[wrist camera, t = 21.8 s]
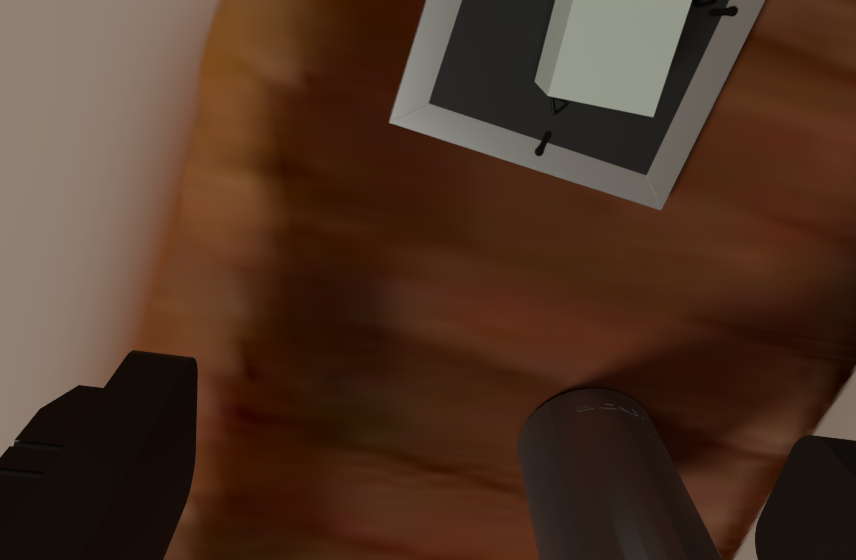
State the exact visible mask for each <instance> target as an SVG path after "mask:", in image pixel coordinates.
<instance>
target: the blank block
mask: <svg viewBox="0 0 856 560" xmlns="http://www.w3.org/2000/svg"><path fill="white" fill-rule="evenodd" d="M691 2H692V0H555V3H554V7H553V11H552V15H551V19H550V23H549V27H548V31H547V34H546V38H545V42H544V46H543V50H542V54H541V58H540V62H539V66H538V70H537V74H536V78H535V83H536V84H537V85H538V86H539V87H540V88H541V89H542V90H543V91H544V92H545V93H546V95H547V96H551V97H556V98H561V99H565V100H570V101H575V102H580V103H585V104H590V105H595V106H600V107H605V108H610V109H615V110H620V111H625V112H630V113H635V114H639V115H644V116H649V117H654V114H655V111H656V108H657V105H658V102H659V99H660V96H661V92H662V89H663V86H664V83H665V80H666V77H667V74H668V71H669V68H670V65H671V62H672V59H673V56H674V53H675V50H676V47H677V44H678V41H679V38H680V35H681V32H682V29H683V26H684V23H685V20H686V17H687V14H688V11H689V8H690V5H691Z"/></svg>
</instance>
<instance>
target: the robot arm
mask: <svg viewBox="0 0 856 560" xmlns="http://www.w3.org/2000/svg"><path fill="white" fill-rule="evenodd" d="M197 379H198V370H197V362H196V360H195V358H193V357H185V356H177V355H168V354H160V353H152V352H144V351H135V350H133V351H131V352H130V353H129V354H128V355H127V356H126V357H125V359H124V360H123V362H122V363H121V365H120V366H119V367H118V369H117V370H116V372H115V373H114V374H113V376H112V377H111V379H110V380H109V381H108V383H107V384H106V386H105V387H104V388H98V387H90V386H81V385H79V386H77V387H75V388H74V389H72V390H70V391H69V392H67V393H66V394H64V395H62V396H61V397H59V398H57V399H56V400H54V401H52V402H51V403H49V404H47V405H46V406H44V407H42V408H41V409H40V410H39V411H38V412H37V413H36V415H35V416H34V417H33V418H32V419H31V421H30V422H29V423H28V424H27V426H26V427H25V428H24V429H23V430H22V432H21V433H20V434H19V436H18V437H17V438H16V439H15V443H14V446H13V447H11V446H10V447H9V448H8V449H7V450H6V451H5V453H4V454H3V455H2V456H1V457H0V560H163V559H164V556H165V554H166V551H167V549H168V546H169V544H170V542H171V539H172V537H173V534H174V532H175V529H176V527H177V524H178V522H179V520H180V517H181V515H182V512H183V510H184V507H185V505H186V502H187V499H188V495H189V492H190V487H191V483H192V478H193V473H194V466H195V455H196V419H197ZM518 459H519V464H520V469H521V474H522V478H523V483H524V488H525V493H526V498H527V503H528V508H529V513H530V518H531V522H532V527H533V532H534V537H535V541H536V546H537V551H538V556H539V560H722V558H721V556H720V554H719V552H718V550H717V548H716V546H715V544H714V542H713V540H712V538H711V536H710V534H709V532H708V530H707V528H706V526H705V524H704V523H703V521H702V519H701V517H700V515H699V513H698V511H697V509H696V507H695V505H694V503H693V501H692V499H691V497H690V495H689V493H688V491H687V489H686V487H685V485H684V483H683V481H682V479H681V477H680V476H679V474H678V472H677V470H676V468H675V466H674V464H673V462H672V460H671V458H670V456H669V454H668V452H667V450H666V448H665V446H664V444H663V442H662V440H661V438H660V436H659V434H658V432H657V430H656V428H655V426H654V424H653V423H652V421H651V419H650V417H649V415H648V413H647V412H646V411H645V410H644V409H643V407H642V406H641V405H640V404H638V403H637V402H636V401H634V400H633V399H632V398H630V397H628V396H626V395H624V394H621V393H619V392H616V391H611V390H607V389H591V388H589V389H582V390H575V391H571V392H568V393H565V394H562V395H559V396H557V397H556V398H554V399H552V400H550V401H548V402H546V403H545V404H544V405H542V406H541V407H540V408H539V409H537V410H536V411H535V412H534V413H533V415H532V416H531V417H530V418H529V419H528V420H527V422H526V424H525V426H524V427H523V429H522V431H521V433H520V437H519V441H518ZM755 546H756V553H757V558H758V560H856V441H853V440H845V439H837V438H829V437H821V436H813V435H808V436H804V437H802V438H800V439H799V440H798V441H797V442H796V443H795V445H794V446H793V448H792V450H791V452H790V454H789V456H788V458H787V460H786V462H785V464H784V466H783V469H782V471H781V473H780V475H779V477H778V479H777V481H776V483H775V485H774V488H773V490H772V492H771V494H770V496H769V498H768V500H767V502H766V504H765V507H764V509H763V511H762V513H761V515H760V517H759V520H758V522H757V526H756V532H755Z"/></svg>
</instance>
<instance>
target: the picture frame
mask: <svg viewBox="0 0 856 560" xmlns="http://www.w3.org/2000/svg"><path fill="white" fill-rule="evenodd" d="M764 2H765V0H692V2H691V5H690V8H689V11H688V14H687V17H686V20H685V23H684V26H683V29H682V32H681V35H680V38H679V41H678V44H677V47H676V50H675V53H674V56H673V59H672V62H671V65H670V68H669V71H668V74H667V77H666V80H665V83H664V86H663V89H662V92H661V96H660V99H659V102H658V105H657V108H656V111H655V114H654V117H649V116H644V115H639V114H635V113H630V112H625V111H620V110H615V109H610V108H605V107H600V106H595V105H590V104H585V103H580V102H575V101H570V100H565V99H561V98H556V97H551V96H547V95H546V93H545V92H544V91H543V90H542V89H541V88H540V87H539V86H538V85H537V84H536V83H535V78H536V74H537V70H538V66H539V62H540V58H541V54H542V50H543V46H544V42H545V38H546V34H547V31H548V27H549V23H550V19H551V15H552V11H553V7H554V3H555V0H425V3H424V6H423V9H422V13H421V16H420V19H419V23H418V26H417V29H416V32H415V36H414V39H413V42H412V45H411V49H410V52H409V55H408V59H407V62H406V65H405V68H404V72H403V75H402V78H401V81H400V85H399V88H398V91H397V94H396V98H395V101H394V104H393V108H392V111H391V114H390V118H389V123H391V124H395V125H398V126H401V127H404V128H407V129H410V130H413V131H416V132H419V133H422V134H425V135H429V136H432V137H435V138H438V139H441V140H444V141H447V142H450V143H453V144H456V145H459V146H463V147H466V148H469V149H472V150H475V151H478V152H481V153H484V154H487V155H490V156H493V157H497V158H500V159H503V160H506V161H509V162H512V163H515V164H518V165H521V166H524V167H527V168H531V169H534V170H537V171H540V172H543V173H546V174H549V175H552V176H555V177H558V178H561V179H565V180H568V181H571V182H574V183H577V184H580V185H583V186H586V187H589V188H592V189H595V190H599V191H602V192H605V193H608V194H611V195H614V196H617V197H620V198H623V199H626V200H630V201H633V202H636V203H639V204H642V205H645V206H648V207H651V208H654V209H657V210H660V211H661V210H662V208H663V206H664V204H665V202H666V200H667V198H668V196H669V194H670V191H671V189H672V187H673V185H674V183H675V181H676V179H677V177H678V175H679V173H680V171H681V169H682V167H683V165H684V163H685V161H686V159H687V157H688V155H689V153H690V151H691V149H692V147H693V145H694V143H695V141H696V139H697V137H698V135H699V133H700V131H701V129H702V127H703V125H704V123H705V121H706V119H707V117H708V115H709V113H710V111H711V109H712V107H713V105H714V103H715V101H716V99H717V97H718V95H719V93H720V91H721V89H722V87H723V85H724V82H725V80H726V78H727V76H728V74H729V72H730V70H731V68H732V66H733V64H734V62H735V60H736V58H737V56H738V54H739V52H740V50H741V48H742V46H743V44H744V42H745V40H746V38H747V36H748V34H749V32H750V30H751V28H752V26H753V24H754V22H755V20H756V18H757V16H758V14H759V12H760V10H761V8H762V6H763V4H764Z"/></svg>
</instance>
